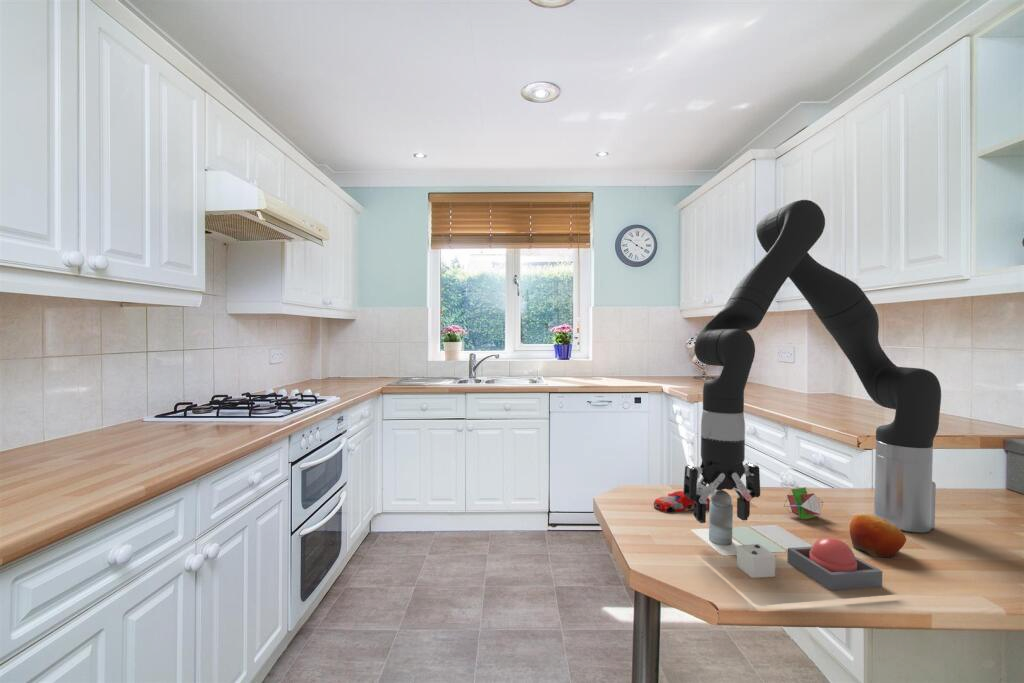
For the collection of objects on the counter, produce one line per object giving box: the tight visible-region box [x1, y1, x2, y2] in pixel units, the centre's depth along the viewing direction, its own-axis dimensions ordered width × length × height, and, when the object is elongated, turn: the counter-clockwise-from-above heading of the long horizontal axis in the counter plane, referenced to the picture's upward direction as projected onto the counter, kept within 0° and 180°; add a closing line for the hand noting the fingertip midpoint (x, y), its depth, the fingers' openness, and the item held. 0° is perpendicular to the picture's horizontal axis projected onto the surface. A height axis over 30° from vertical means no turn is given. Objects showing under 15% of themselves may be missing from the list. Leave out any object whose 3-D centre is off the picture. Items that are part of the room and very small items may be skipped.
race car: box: [653, 490, 711, 513], centre depth 105 cm, size 13×5×4 cm, turn 101°
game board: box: [690, 524, 813, 557], centre depth 88 cm, size 20×12×1 cm, turn 98°
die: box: [736, 544, 776, 579], centre depth 76 cm, size 4×4×4 cm
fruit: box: [849, 513, 907, 558], centre depth 84 cm, size 8×8×8 cm
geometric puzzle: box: [783, 486, 824, 521], centre depth 100 cm, size 7×7×8 cm
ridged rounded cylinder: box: [708, 489, 734, 546], centre depth 87 cm, size 4×4×10 cm
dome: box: [809, 536, 857, 572], centre depth 76 cm, size 6×6×6 cm
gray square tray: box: [786, 547, 883, 592], centre depth 76 cm, size 9×9×3 cm
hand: (721, 520), depth 87 cm, fingers open, 8 cm apart
